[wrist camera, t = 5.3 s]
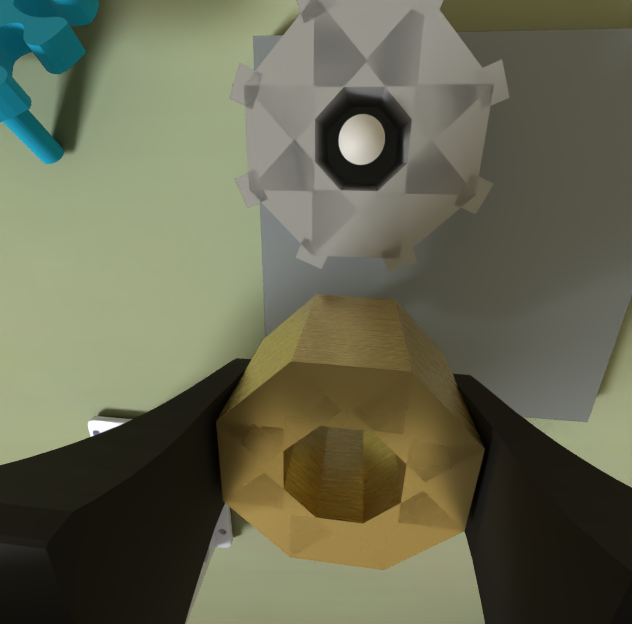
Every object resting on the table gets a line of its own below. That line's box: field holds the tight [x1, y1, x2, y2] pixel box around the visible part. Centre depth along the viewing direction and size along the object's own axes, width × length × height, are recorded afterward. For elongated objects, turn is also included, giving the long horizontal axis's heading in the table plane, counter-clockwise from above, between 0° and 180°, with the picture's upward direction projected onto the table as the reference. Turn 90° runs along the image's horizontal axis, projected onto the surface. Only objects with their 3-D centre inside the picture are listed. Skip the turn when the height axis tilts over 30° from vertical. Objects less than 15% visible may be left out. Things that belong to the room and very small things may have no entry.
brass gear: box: [216, 294, 485, 570], centre depth 10 cm, size 6×6×4 cm
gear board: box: [229, 0, 632, 422], centre depth 13 cm, size 15×15×6 cm
